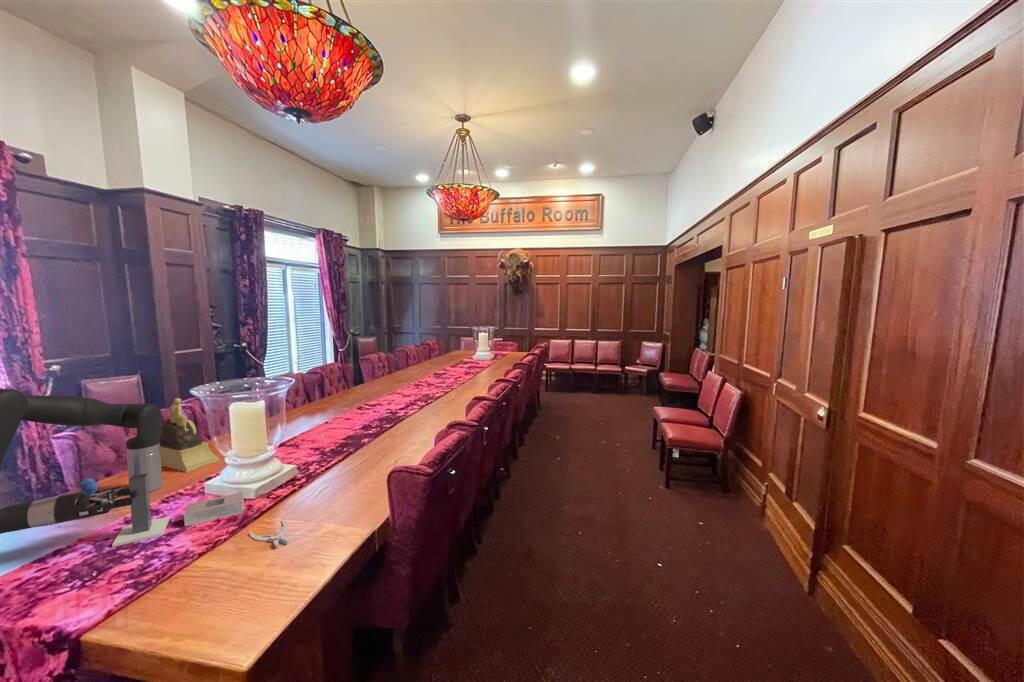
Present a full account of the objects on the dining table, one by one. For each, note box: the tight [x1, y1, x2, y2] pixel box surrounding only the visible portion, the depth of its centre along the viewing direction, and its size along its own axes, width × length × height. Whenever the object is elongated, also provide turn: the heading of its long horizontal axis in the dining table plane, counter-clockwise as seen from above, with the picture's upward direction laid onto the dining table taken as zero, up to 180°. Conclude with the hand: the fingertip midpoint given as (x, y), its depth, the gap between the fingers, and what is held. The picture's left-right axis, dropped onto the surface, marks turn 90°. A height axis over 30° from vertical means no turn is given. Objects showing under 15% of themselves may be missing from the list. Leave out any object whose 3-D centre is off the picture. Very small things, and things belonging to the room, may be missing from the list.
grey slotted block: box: [183, 492, 245, 527], centre depth 130 cm, size 8×15×4 cm, turn 123°
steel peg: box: [128, 473, 152, 534], centre depth 118 cm, size 4×4×17 cm
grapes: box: [78, 477, 100, 497], centre depth 129 cm, size 12×7×12 cm, turn 65°
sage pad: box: [111, 516, 170, 548], centre depth 119 cm, size 11×11×1 cm
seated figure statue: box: [160, 397, 220, 473], centre depth 172 cm, size 28×13×30 cm, turn 69°
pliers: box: [248, 519, 290, 550], centre depth 117 cm, size 10×2×15 cm
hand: (136, 494), depth 118 cm, fingers open, 8 cm apart
